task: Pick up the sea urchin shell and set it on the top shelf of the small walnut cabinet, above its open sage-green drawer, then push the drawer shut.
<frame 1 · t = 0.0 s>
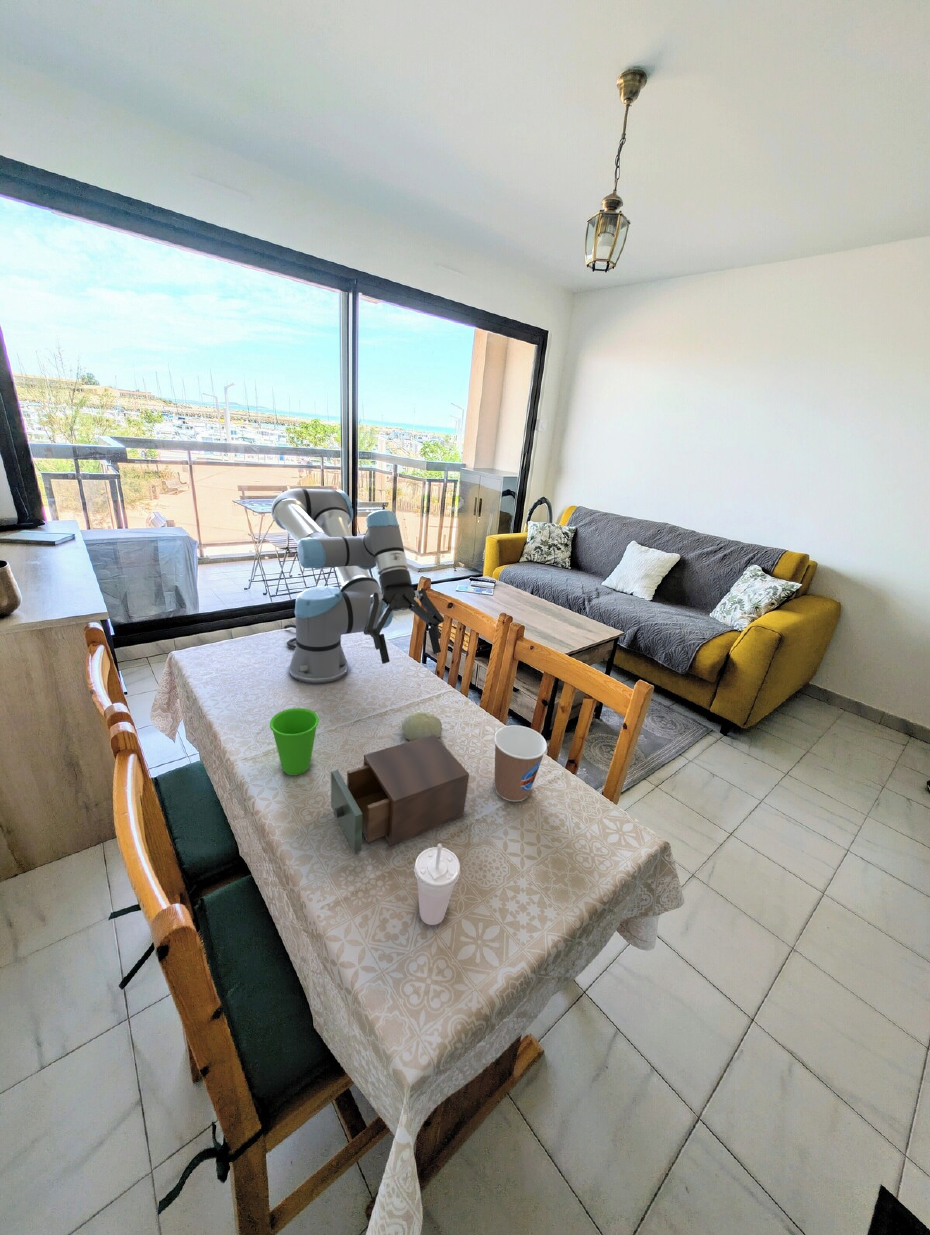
hand: (412, 657, 111), 15 cm above the table, tool tilted 35°, fingers open, 13 cm apart
cup: (296, 767, 95), on the table
smoothie: (432, 913, 69), on the table
cabinet: (412, 806, 88), on the table
drawer: (376, 798, 82), point 5 cm above the table, slide at 5.0 cm
sea urchin shell: (421, 734, 109), on the table
coffee cup: (511, 790, 95), on the table
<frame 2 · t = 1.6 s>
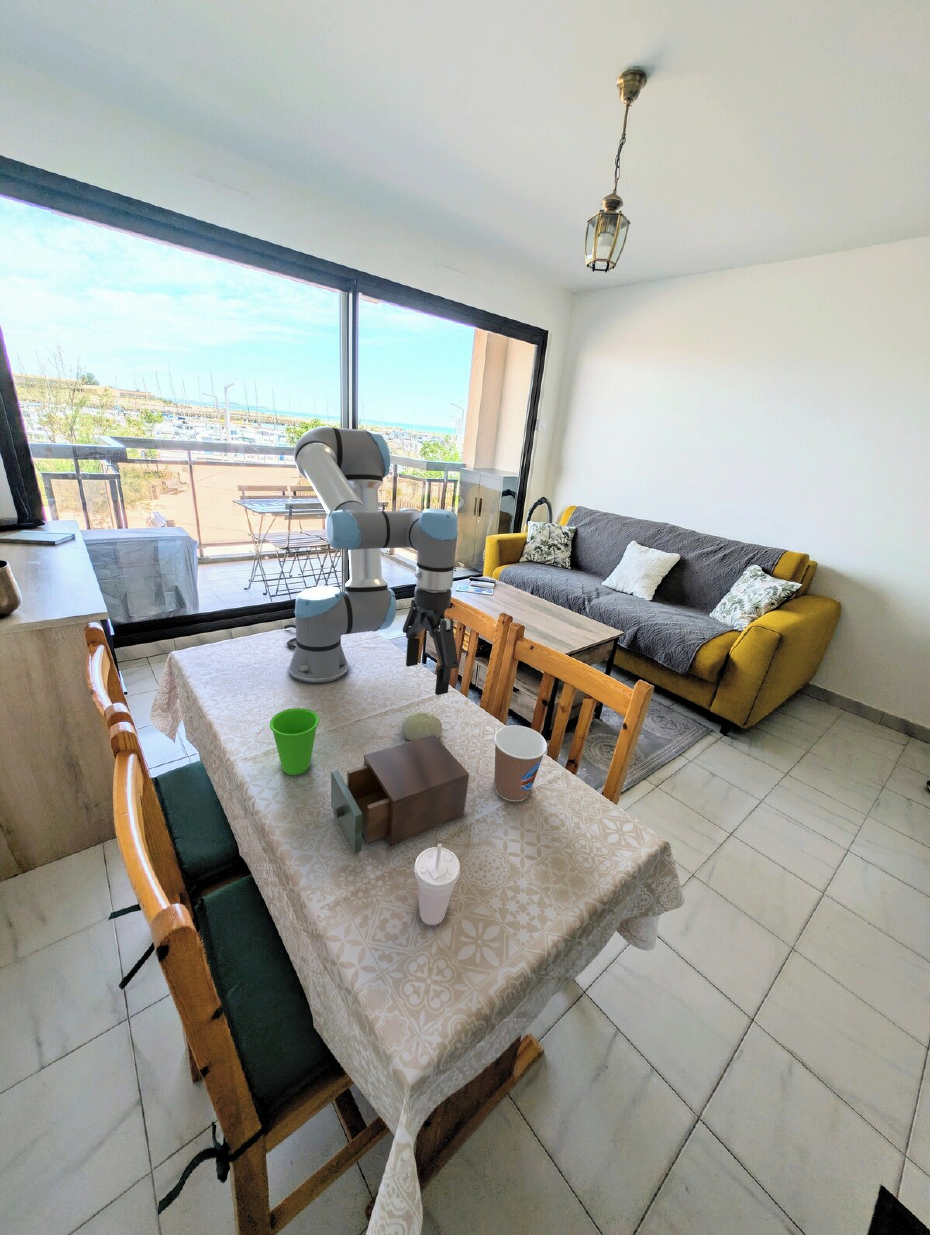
hand: (425, 678, 104), 15 cm above the table, tool pointing down, fingers open, 13 cm apart
nothing on the table moved.
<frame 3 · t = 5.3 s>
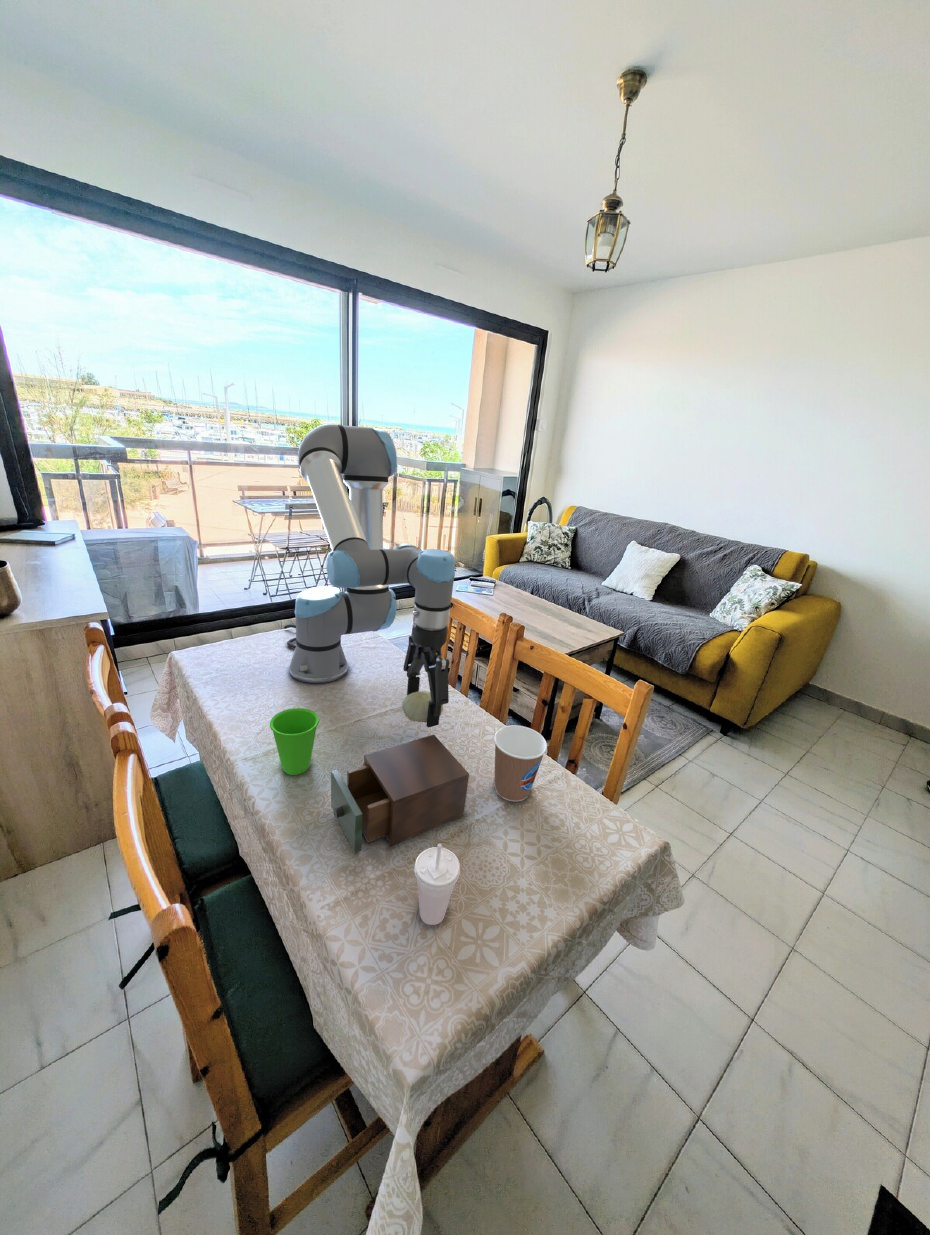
hand: (421, 713, 107), 5 cm above the table, tool pointing down, fingers closed on sea urchin shell, 9 cm apart
sea urchin shell: (421, 714, 108), point 5 cm above the table, touching gripper
everything else where it was.
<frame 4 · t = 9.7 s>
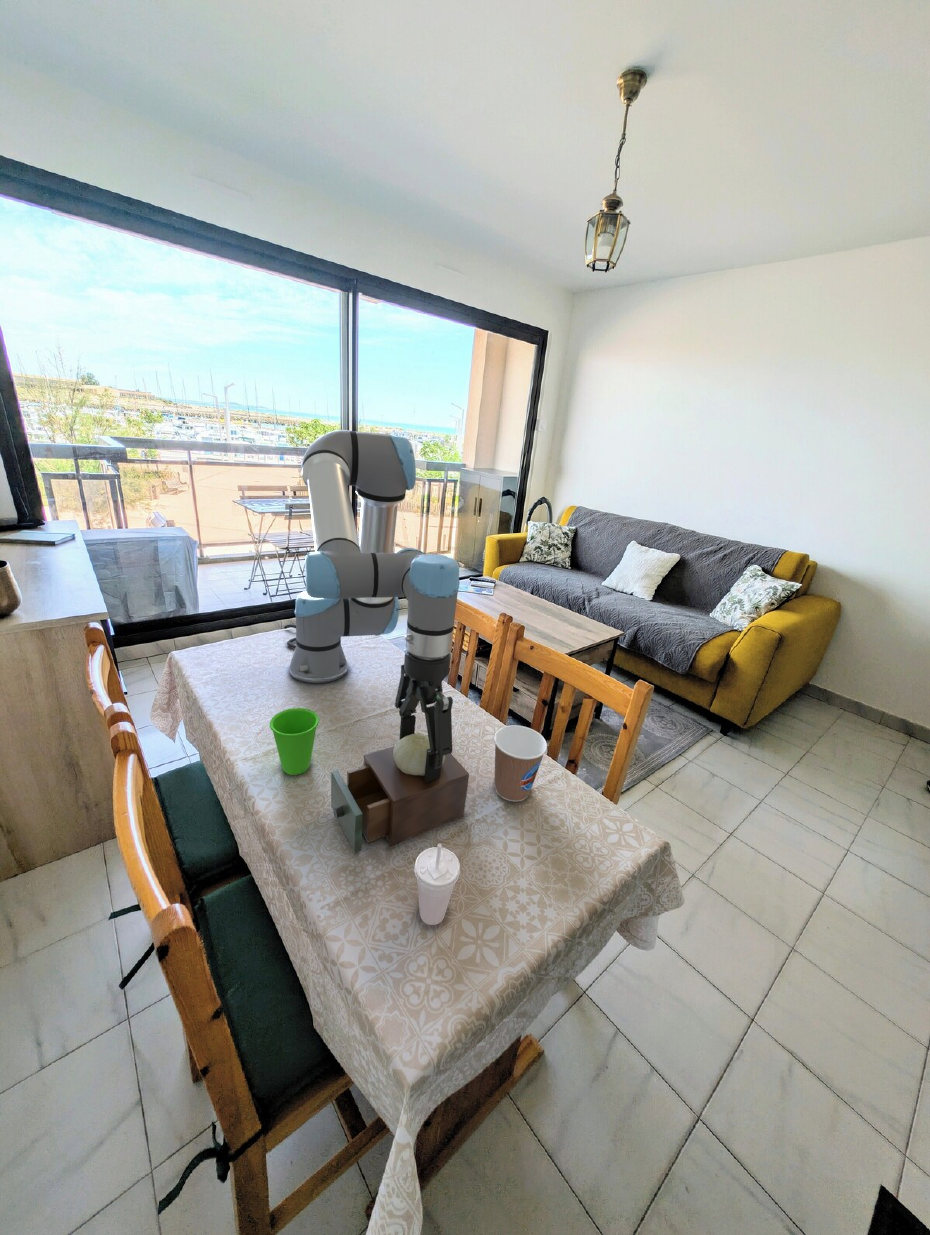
hand: (418, 762, 85), 10 cm above the table, tool pointing down, fingers closed on sea urchin shell, 9 cm apart
sea urchin shell: (418, 763, 85), point 10 cm above the table, touching gripper
everything else where it was.
when the fingers open (10 cm above the table, at t = 10.0 s): sea urchin shell stays where it is, resting on cabinet.
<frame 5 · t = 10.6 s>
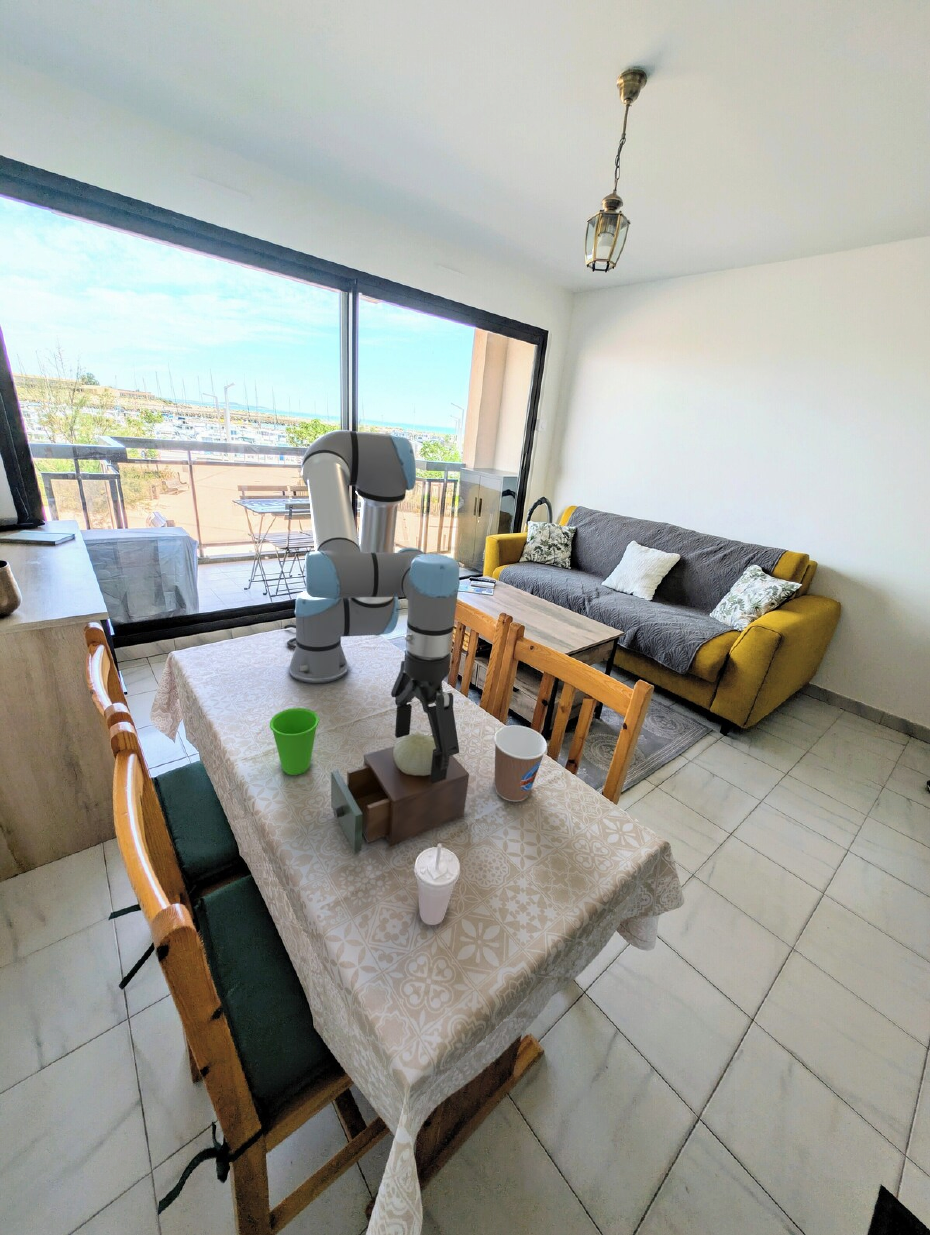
hand: (419, 756, 84), 11 cm above the table, tool pointing down, fingers open, 13 cm apart
sea urchin shell: (418, 763, 85), point 10 cm above the table, touching cabinet
everything else where it was.
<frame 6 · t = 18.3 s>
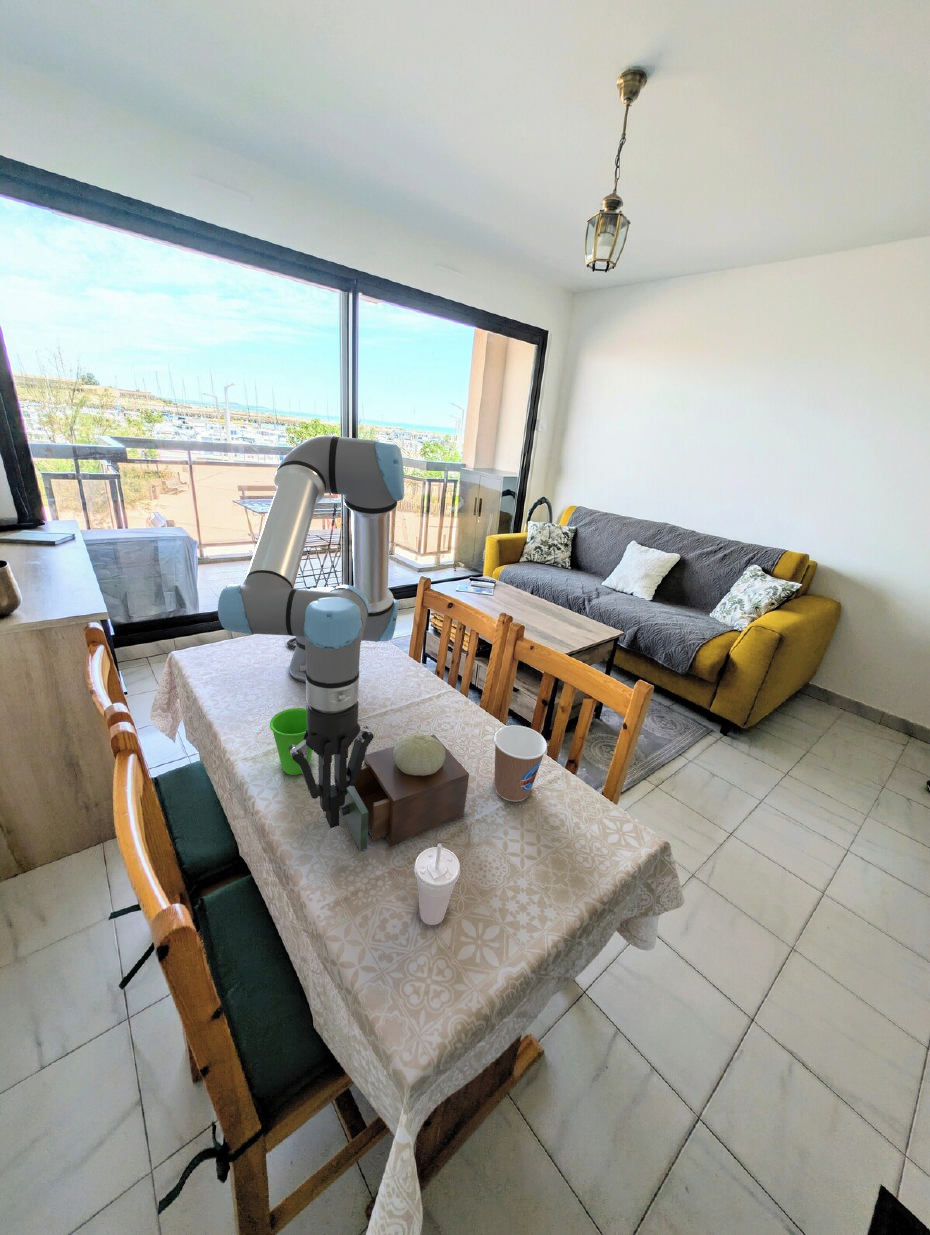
hand: (332, 821, 79), 3 cm above the table, tool pointing down, fingers closed
drawer: (381, 797, 83), point 5 cm above the table, slide at 4.0 cm, touching gripper
everything else where it was.
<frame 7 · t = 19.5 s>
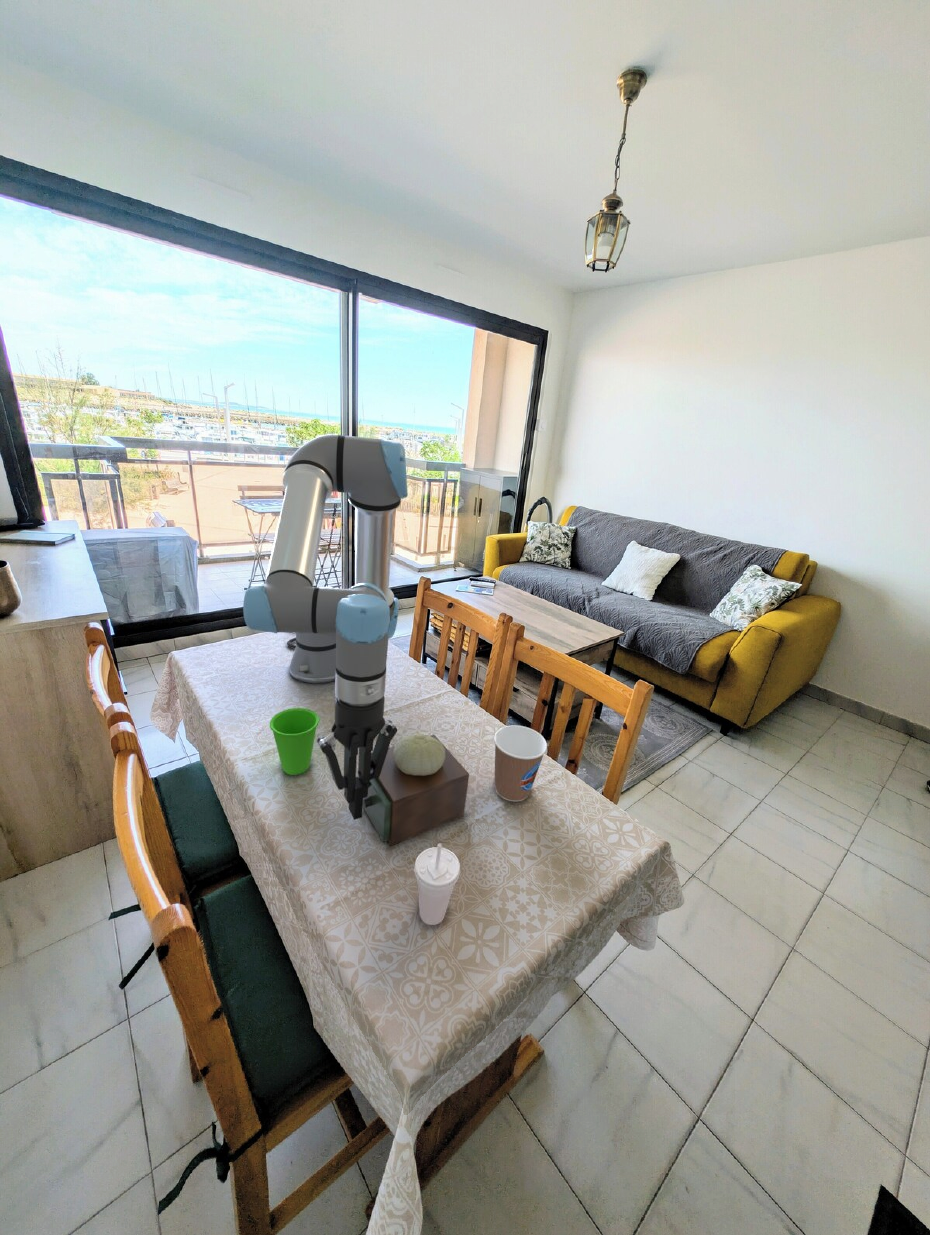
hand: (355, 812, 81), 3 cm above the table, tool pointing down, fingers closed
drawer: (402, 789, 85), point 5 cm above the table, slide at 0.0 cm, touching gripper
everything else where it was.
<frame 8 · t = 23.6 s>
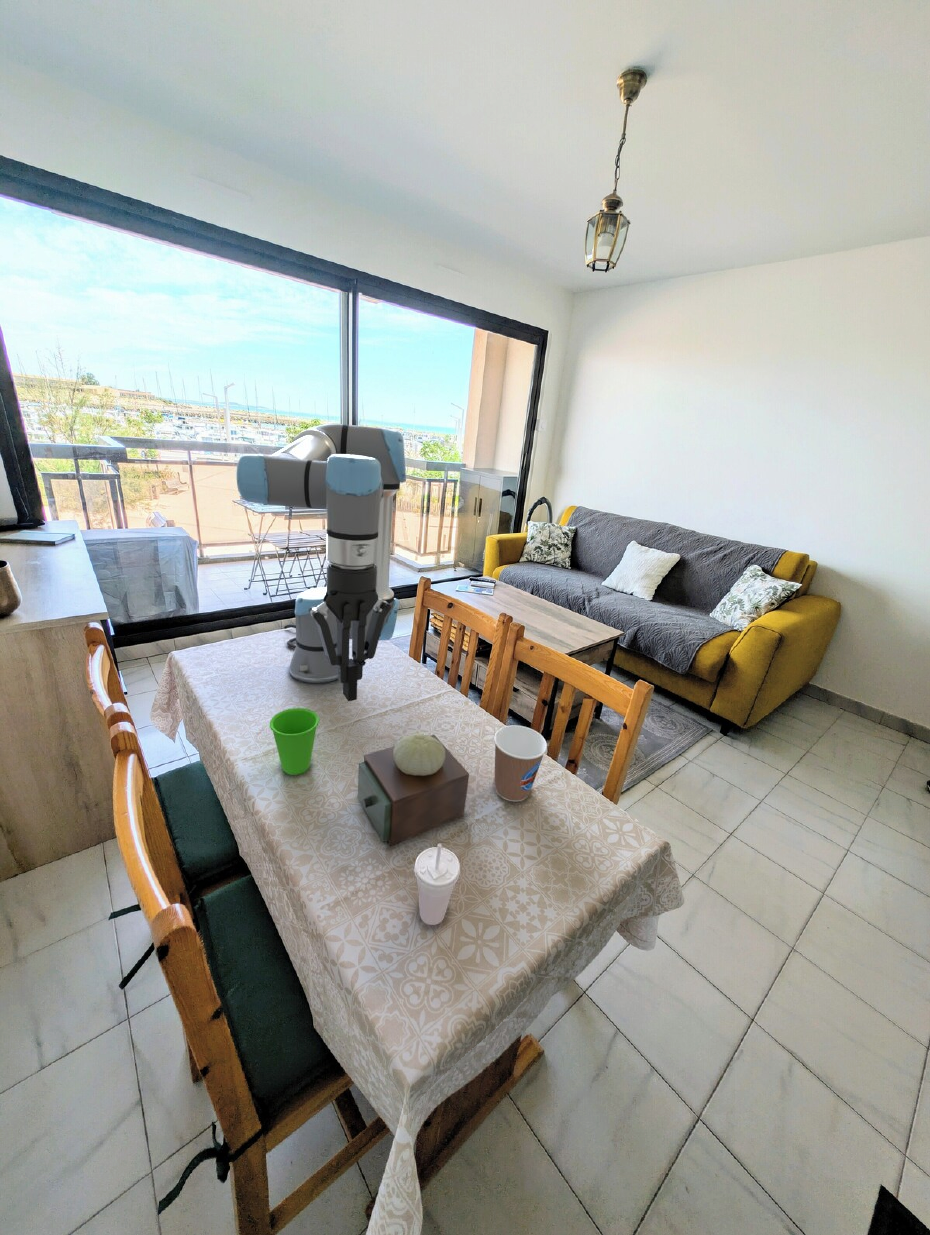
hand: (349, 696, 80), 22 cm above the table, tool pointing down, fingers closed
drawer: (402, 789, 85), point 5 cm above the table, slide at 0.0 cm, touching cabinet
everything else where it was.
at the end: sea urchin shell inside the target area on the cabinet (0.3 cm from its centre), point 9.6 cm above the cabinet's base; drawer slide at 0.0 cm; the gripper is holding nothing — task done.
